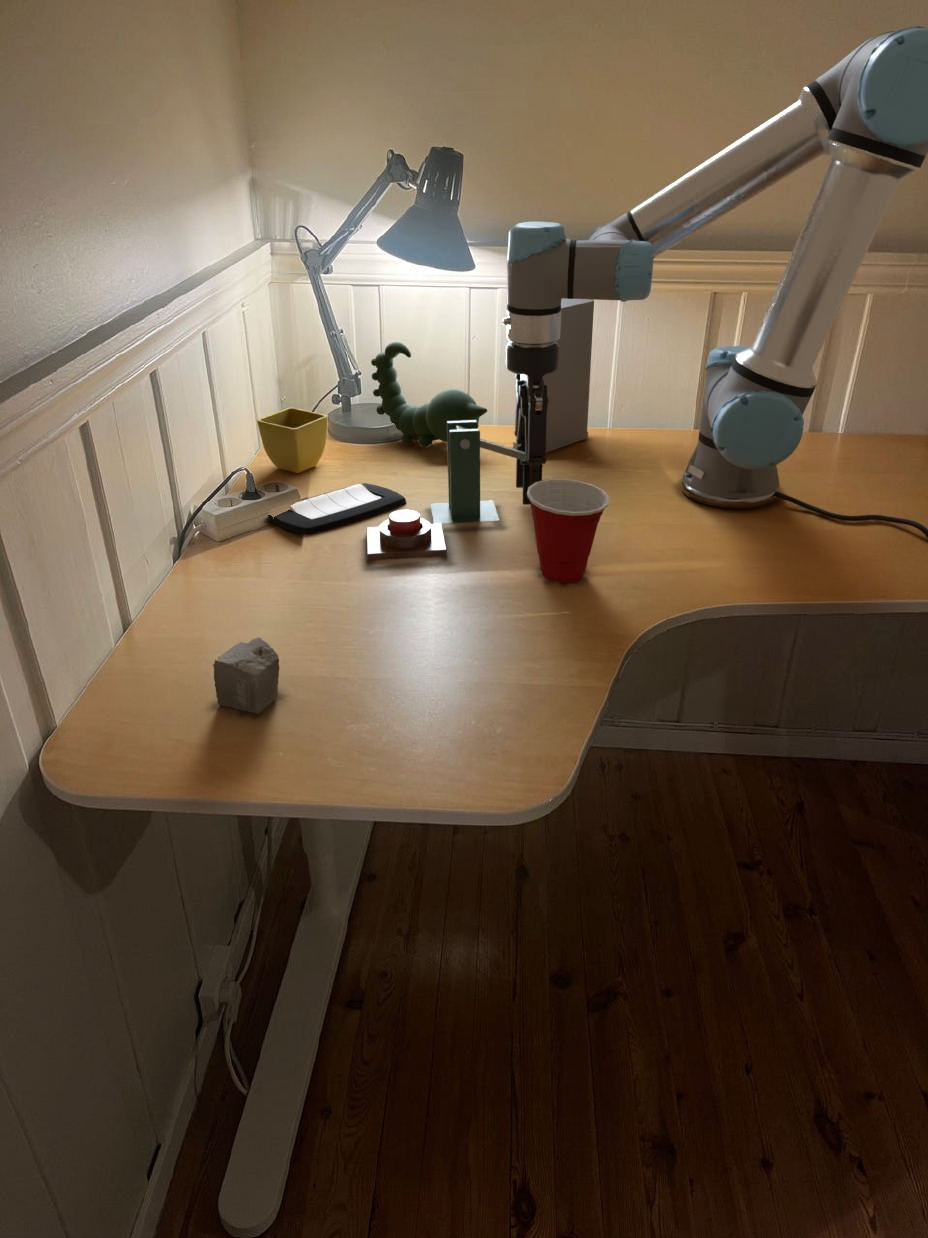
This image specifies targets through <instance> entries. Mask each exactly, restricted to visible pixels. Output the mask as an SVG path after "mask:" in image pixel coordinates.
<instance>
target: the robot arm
mask: <svg viewBox="0 0 928 1238" xmlns="http://www.w3.org/2000/svg"><path fill="white" fill-rule="evenodd" d="M801 89H802V90H801V92H800V94H799V97H798V100H797V101H796V102H794V103H793V104H791V105H789V106H788V107H786V108H784V109H783V110H782V111H780V112H779V113H777V114H776V115H774V116H773V117H771V118H770V119H768V120H767V121H765V122H763V123H762V124H760V125H758V127H755V128H754V129H753V130H751V131H750V132H748V133H746V134H744V136H742V137H740V138H738V139H737V140H736V141H734V142H733V143H731V144H729V145H728V146H726V147H725V148H723V149H722V150H720V151H719V152H717V153H716V154H714V155H712V156H711V157H710V158H707V160H705V161H704V162H702V163H700V164H698V165H697V166H696V167H694V168H693V169H691V170H690V171H688V172H687V173H685V174H684V175H682V176H681V177H679V178H678V179H675V181H672V182H671V183H670V184H668V185H666V186H665V187H663V188H662V189H660V190H659V191H658V192H657V191H656V193H654V194H653V195H651V196H649V197H648V198H646V199H645V200H643V201H642V202H640V203H638V204H637V205H636V206H634V207H633V208H631V209H630V210H629V211H627V212H626V213H624V214H622V215H620V216H619V217H618V218H616V219H615V220H613V221H611V222H608V223H604V224H602V225H601V226H599V227H597V228H596V229H595V230H593V232H591V234H590V236H589V237H587V239H581V240H579V239H571V238H566V234H565V233H566V232H565V227H564V226H563V224H561V223H558V222H555V221H554V222H553V221H541V220H540V221H525V222H524V221H523V222H519V223H516V224H514V225H513V226H512V227H511V228H510V230H509V232H508V245H507V259H506V314H507V317H503V318H502V325H503V326H506V339H507V340H508V342H507V343H506V344H505V367H506V369H507V370H508V371H509V372H511V373H513V374H515V388H516V389H515V390H516V393H515V397H516V398H515V423H514V432H513V435H514V436H515V438H516V437H517V438H516V439H515V441H516V442H517V445H520V446H517V450H519V451H522V452H525V460H520V459H517V458H516V461H515V462H516V464H515V465H516V466H515V467H516V468H515V487H516V489H521V488H522V505H523V506H525V505H526V506H527V505H528V506H529V505H530V506H531V503H530V500H529V498H528V497H527V491H528V487H529V486H531V485H532V484H534V483H535V482H539V481H543V465H545V464H546V463H547V452H546V426H547V406H548V402H549V399H548V397H547V385H544V380H543V376H544V375H545V374H548V373H549V374H550V373H553V372H555V371H556V370H557V369H558V366H559V345H558V343H557V342H556V341H558V340H559V339H560V329H561V300H562V299H588V300H593V301H596V300H597V301H619V302H621V303H622V302H623V303H625V302H629V301H643V300H646V299H647V298H648V297H649V296H650V293H651V289H652V281H653V271H654V259H656V258H657V257H659V255H661V254H663V253H665V252H667V251H668V250H670V249H672V248H673V247H675V246H676V245H678V244H680V243H682V242H683V241H685V240H686V239H687V238H689V237H691V236H692V235H694V234H695V233H697V232H699V231H700V230H702V229H704V228H706V227H707V226H709V225H710V224H712V223H713V222H716V221H717V220H718V219H720V218H721V217H724V216H725V215H727V214H728V213H730V212H731V211H733V210H735V209H736V208H738V207H739V206H741V205H743V204H745V203H746V202H747V201H749V200H751V199H752V198H754V197H755V196H758V195H759V194H761V193H762V192H764V191H766V190H767V189H768V188H770V187H772V186H773V185H775V184H777V183H778V182H780V181H782V180H783V179H785V178H787V177H788V176H790V175H791V174H793V173H795V172H797V171H798V170H800V169H801V168H803V167H805V166H806V165H808V164H809V163H811V162H813V161H814V160H816V159H818V158H819V157H821V156H823V155H825V156H828V157H829V156H830V160H831V161H830V163H829V166H828V168H827V170H826V172H825V175H824V177H823V179H822V181H821V184H820V187H819V189H818V191H817V194H816V196H815V198H814V201H813V203H812V205H811V207H810V210H809V212H808V215H807V216H806V219H805V222H804V223H803V226H802V229H801V231H800V233H799V236H798V238H797V240H796V243H795V245H794V247H793V249H792V252H791V253H790V257H789V259H788V261H787V264H786V265H785V268H784V271H783V273H782V275H781V277H780V280H779V282H778V285H777V286H776V289H775V291H774V293H773V296H772V298H771V300H770V303H769V305H768V307H767V309H766V312H765V314H764V317H763V319H762V322H761V324H760V326H759V328H758V331H757V333H756V334H755V335H756V336H755V338H754V341H753V342H752V345H750V346H749V345H733V346H732V345H730V346H719V347H715V348H714V349H712V350H711V351H710V352H709V354H708V357H707V362H706V365H705V366H704V369H705V380H704V388H703V397H702V404H701V411H700V412H701V413H700V421H699V430H698V432H699V433H698V439H697V444H696V446H695V448H694V450H693V452H692V455H691V457H690V458H689V461H688V463H687V465H686V467H685V470H684V472H683V474H682V479H681V485H680V488H681V491H682V493H683V494H684V495H685V496H686V497H688V498H689V499H690V500H692V501H695V502H698V503H700V504H703V505H707V506H710V507H715V508H722V509H729V510H747V509H757V508H762V507H765V506H768V505H770V504H773V503H774V502H775V501H776V500H777V499H778V498H780V499H782V500H784V501H787V502H790V503H792V504H794V505H797V506H798V507H801V508H804V509H806V510H808V511H812V512H814V513H816V514H819V515H821V516H825V517H826V518H831V519H833V520H838V521H847V522H860V521H881V522H882V521H883V522H888V523H894V524H902V525H906V526H910V527H913V528H915V529H917V530H919V531H920V532H922V533H923V535H924V536H926V538H927V539H928V528H927V527H926V526H925V525H923V524H921V523H920V522H918V521H916V520H911V519H909V518H901V517H894V516H888V515H883V514H862V515H861V514H859V515H845V514H840V513H834V512H831V511H828V510H826V509H823V508H821V507H820V508H819V507H817V506H815V505H812V504H809V503H807V502H805V501H802V500H800V499H799V498H798V499H797V498H795V497H793V496H791V495H788V494H785V493H783V492H781V491H780V486H781V483H780V477H779V471H778V466H777V465H779V464H781V463H782V462H784V461H786V460H787V459H788V458H789V457H790V456H792V454H793V453H794V452H795V451H796V450H797V448H798V446H799V445H800V443H801V440H802V437H803V433H804V426H805V420H804V413H805V411H806V408H807V407H808V404H809V403H810V400H811V398H812V396H813V394H814V392H815V390H816V387H817V385H818V380H817V377H816V375H815V373H814V366H815V363H816V361H817V359H818V357H819V355H820V352H821V350H822V348H823V346H824V344H825V341H826V340H827V337H828V335H829V333H830V331H831V329H832V327H833V325H834V322H835V320H836V318H837V316H838V314H839V312H840V310H841V307H842V305H843V304H844V301H845V299H846V297H847V294H848V293H849V291H850V289H851V286H852V285H853V282H854V280H855V278H856V276H857V274H858V272H859V270H860V267H861V265H862V263H863V261H864V259H865V256H866V254H867V252H868V250H869V248H870V246H871V244H872V242H873V239H874V238H875V235H876V233H877V231H878V229H879V227H880V225H881V222H882V220H883V218H884V216H885V214H886V212H887V209H888V208H889V206H890V204H891V201H892V199H893V197H894V195H895V193H896V190H897V189H898V186H899V184H900V183H901V182H902V181H903V180H904V179H906V178H909V176H912V175H914V174H915V173H917V172H919V171H920V169H921V168H922V165H923V163H924V161H925V159H926V157H927V155H928V27H926V26H921V25H915V26H908V27H904V28H901V29H899V30H891V31H886V32H883V33H880V34H877V35H875V36H873V37H871V38H869V39H867V40H866V41H864V42H863V43H861V44H860V45H859V46H857V47H856V48H854V49H853V50H852V51H851V52H850V53H848V55H847V56H845V57H843V59H842V60H840V61H839V62H838V63H837V64H835V65H833V67H831V68H830V69H828V70H827V71H825V73H823V74H821V75H820V76H818V77H817V78H816V79H815V80H813V81H812V82H810V83H809V84H807V85H805V86H804V87H803V88H801Z"/></svg>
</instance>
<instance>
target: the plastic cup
mask: <svg viewBox="0 0 928 1238" xmlns="http://www.w3.org/2000/svg"><path fill="white" fill-rule="evenodd" d="M527 497H528V498H529V500H530V503H531V504H530V508H531V516H532V519H533V528H534V534H535V541H536V550H537V554H538V559H539V567H540V571H541V574H542V575H541V576H542V577H543V578H544V579H546V580H548V581H549V582H553V583H557V584H572V583H575V582H578V581H580V580H582V578H584V575H585V573H586V569H587V565H588V561H589V557H590V555H591V551H592V548H593V544H594V540H595V537H596V533H597V529H598V525H599V523H600V520H601V516H603V513H604V511H605V509H606V508H607V507H608V506H609V504H610V496H609V495H608V493H607V492H606V491H605V490H603V489H602V488H600V487H598V486H596V485H594V484H593V483H589V482H585V481H581V480H578V479H569V478H547V479H542V481H539V482H535V483H534V484H532V485H531V486H529V487H528V491H527Z"/></svg>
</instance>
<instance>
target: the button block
mask: <svg viewBox="0 0 928 1238" xmlns="http://www.w3.org/2000/svg"><path fill="white" fill-rule="evenodd" d="M420 524H421V529H420V530H419V531H418V532H415V533H411V534H397V533H392V532H391V531H390V528H389V518H388V519H385V520H384V521H382V522H381V523H380V524H379V525H378V526H369V527H368V526H367V527H366V558H367V561H368V562H369V561H385V560H386V561H387V560H405V559H425V558H441V557H444V558H445V557H447V556H448V550H447V545H446V539H445V534H444V528H443V524H441V523H440V524H434V523H431V522H430V521H428V520H427V519H426V518H424V517H420Z"/></svg>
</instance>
